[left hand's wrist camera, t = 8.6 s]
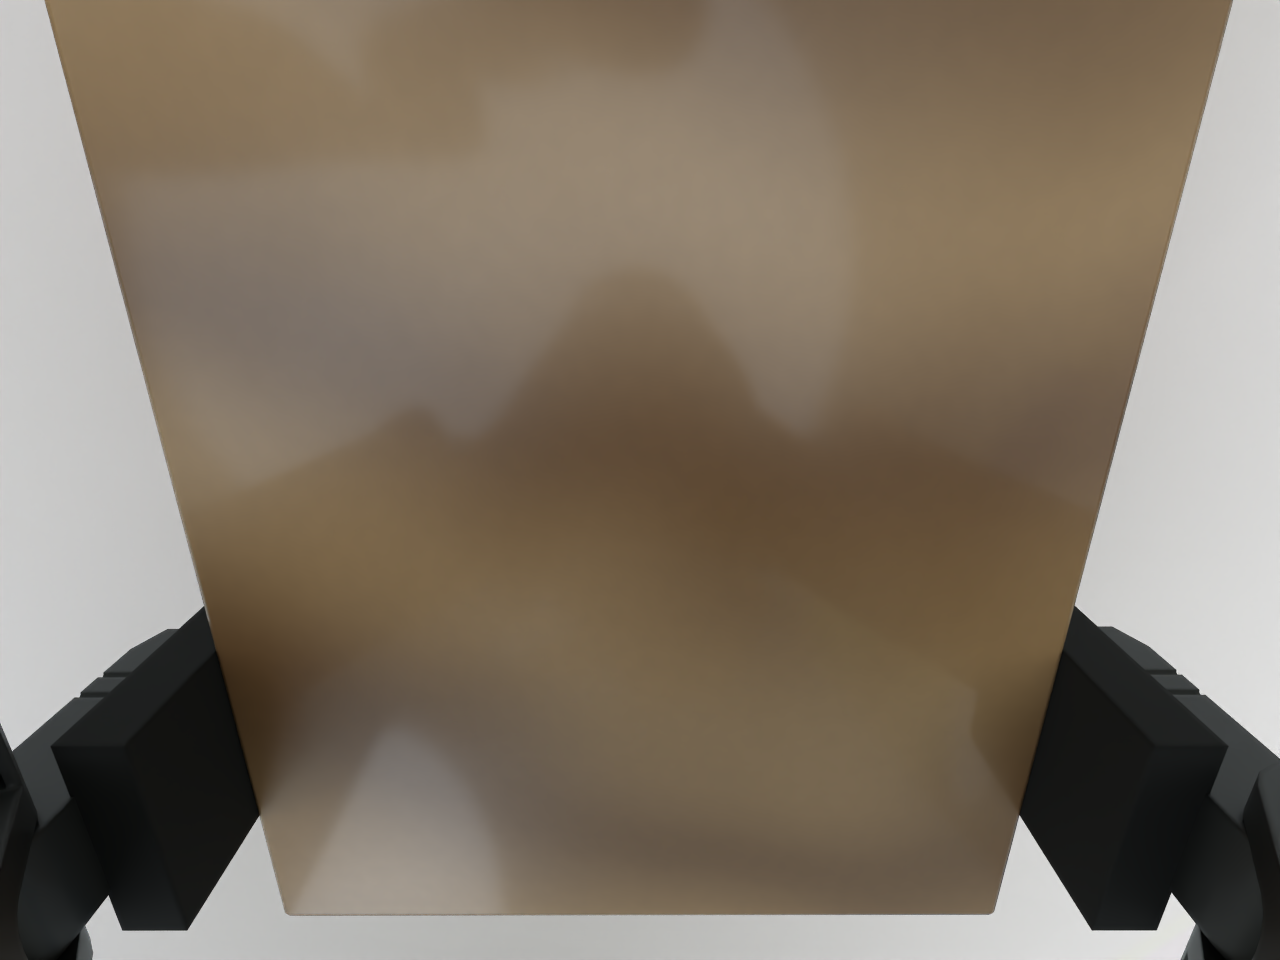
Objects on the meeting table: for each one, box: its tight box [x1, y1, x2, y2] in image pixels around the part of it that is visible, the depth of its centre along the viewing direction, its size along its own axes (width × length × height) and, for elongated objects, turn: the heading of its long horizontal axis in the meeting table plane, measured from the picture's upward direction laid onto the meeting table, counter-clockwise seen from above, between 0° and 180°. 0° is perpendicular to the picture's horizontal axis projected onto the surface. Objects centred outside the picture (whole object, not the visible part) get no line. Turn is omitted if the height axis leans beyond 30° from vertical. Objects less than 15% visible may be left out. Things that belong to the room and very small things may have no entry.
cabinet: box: [45, 0, 1233, 916], centre depth 11 cm, size 16×10×8 cm, turn 0°
